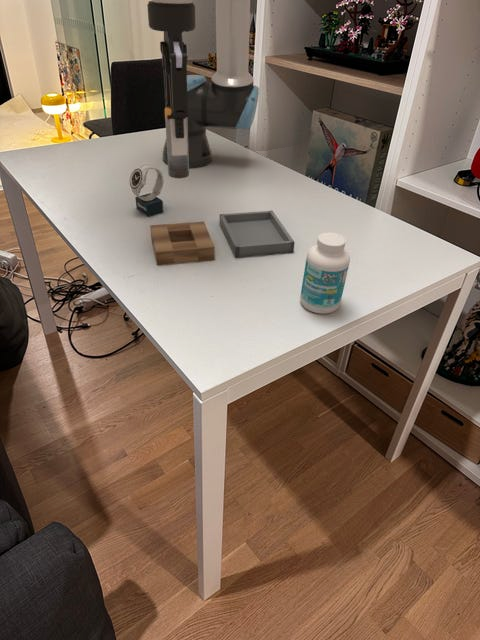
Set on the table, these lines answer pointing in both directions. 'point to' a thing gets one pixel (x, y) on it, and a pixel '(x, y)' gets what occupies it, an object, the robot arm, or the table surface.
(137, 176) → the watch
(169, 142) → the pin
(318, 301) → the pill bottle
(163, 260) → the socket block
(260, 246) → the tray
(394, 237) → the table surface
